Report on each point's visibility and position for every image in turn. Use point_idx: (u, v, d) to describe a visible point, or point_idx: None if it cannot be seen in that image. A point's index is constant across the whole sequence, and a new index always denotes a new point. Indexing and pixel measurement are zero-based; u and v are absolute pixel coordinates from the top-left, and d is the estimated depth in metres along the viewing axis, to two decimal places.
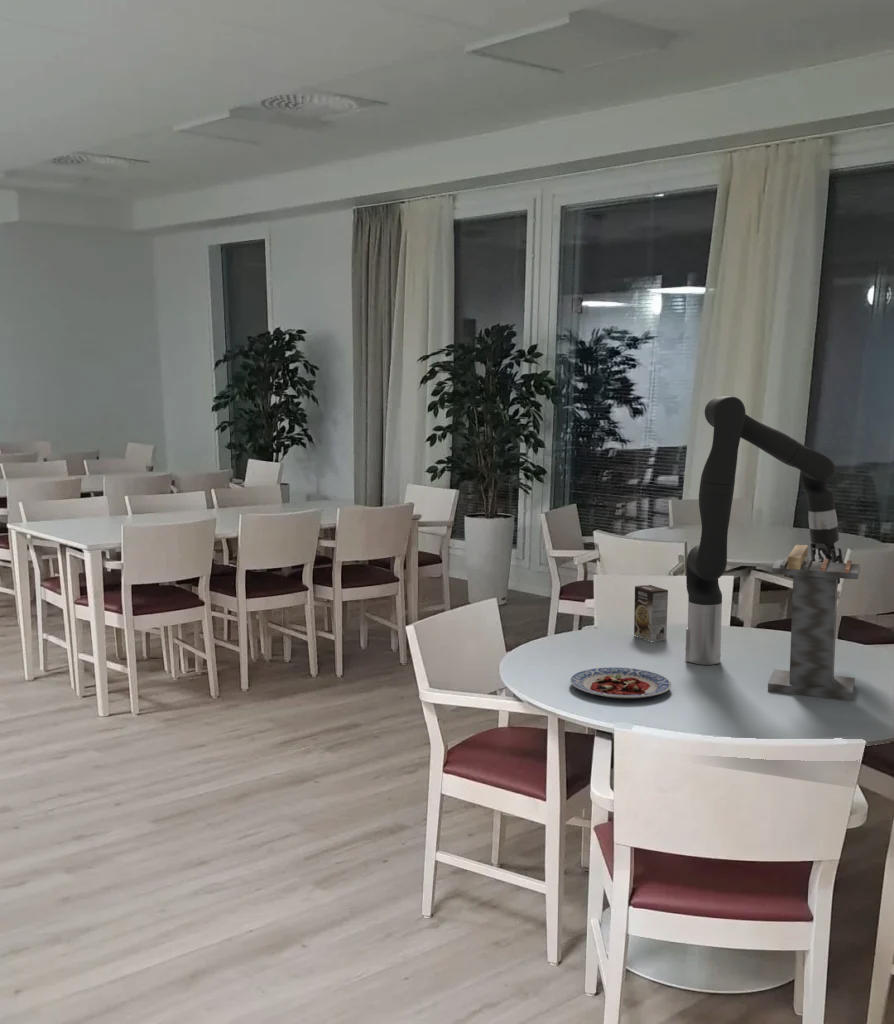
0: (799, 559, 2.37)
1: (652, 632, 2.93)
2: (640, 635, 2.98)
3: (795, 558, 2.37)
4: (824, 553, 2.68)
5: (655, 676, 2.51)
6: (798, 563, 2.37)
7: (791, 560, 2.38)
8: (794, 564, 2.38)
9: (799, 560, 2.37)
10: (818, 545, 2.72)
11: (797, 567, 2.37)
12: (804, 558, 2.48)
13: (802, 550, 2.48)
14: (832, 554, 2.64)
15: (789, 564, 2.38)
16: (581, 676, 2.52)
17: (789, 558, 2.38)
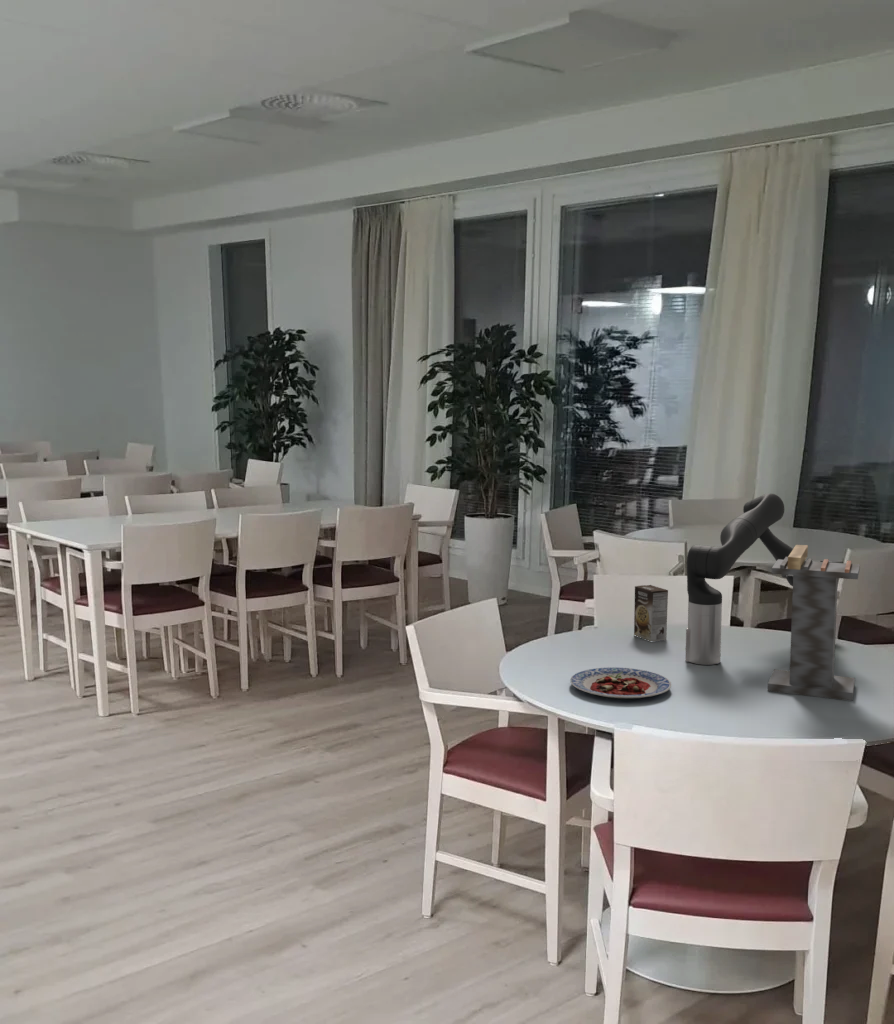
0: (799, 559, 2.37)
1: (652, 632, 2.93)
2: (640, 635, 2.98)
3: (795, 558, 2.37)
4: None
5: (655, 676, 2.51)
6: (798, 563, 2.37)
7: (791, 560, 2.38)
8: (794, 564, 2.38)
9: (799, 560, 2.37)
10: None
11: (797, 567, 2.37)
12: (804, 558, 2.48)
13: (802, 550, 2.48)
14: None
15: (789, 564, 2.38)
16: (581, 676, 2.52)
17: (789, 558, 2.38)
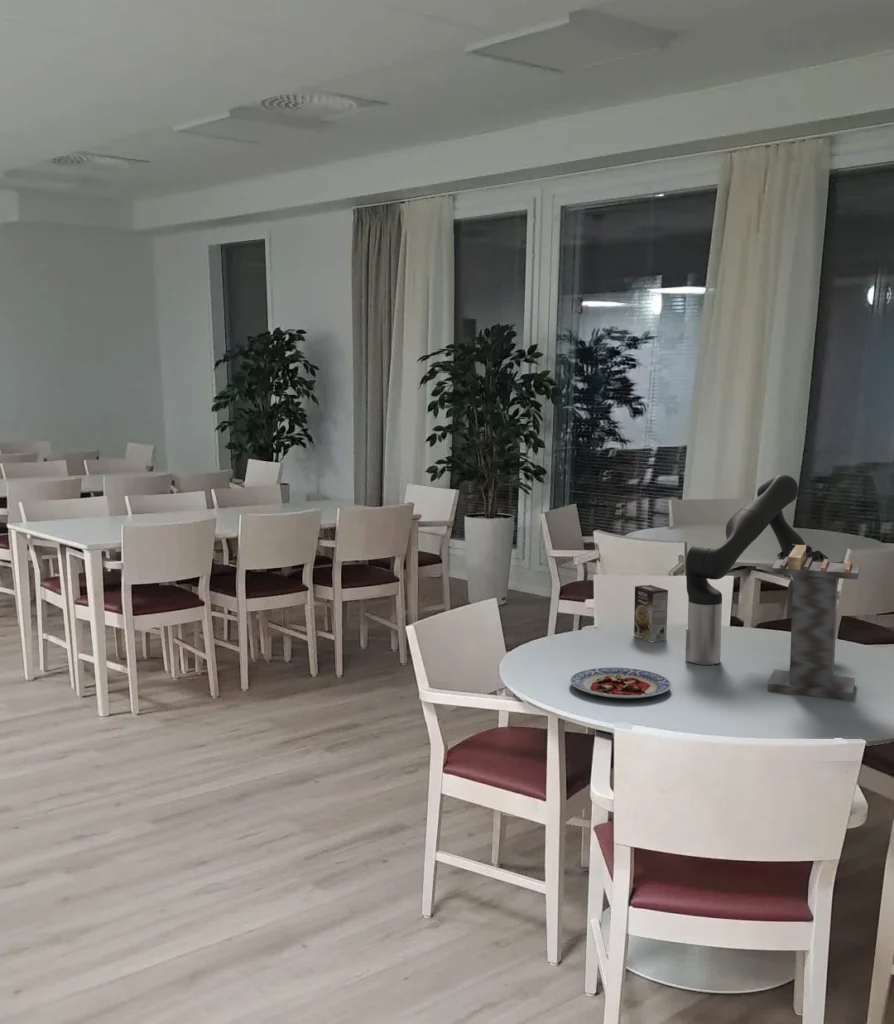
0: (799, 559, 2.37)
1: (652, 632, 2.93)
2: (640, 635, 2.98)
3: (795, 558, 2.37)
4: None
5: (655, 676, 2.51)
6: (798, 563, 2.37)
7: (791, 560, 2.38)
8: (794, 564, 2.38)
9: (799, 560, 2.37)
10: None
11: (797, 567, 2.37)
12: (804, 558, 2.48)
13: (802, 550, 2.48)
14: None
15: (789, 564, 2.38)
16: (581, 676, 2.52)
17: (789, 558, 2.38)
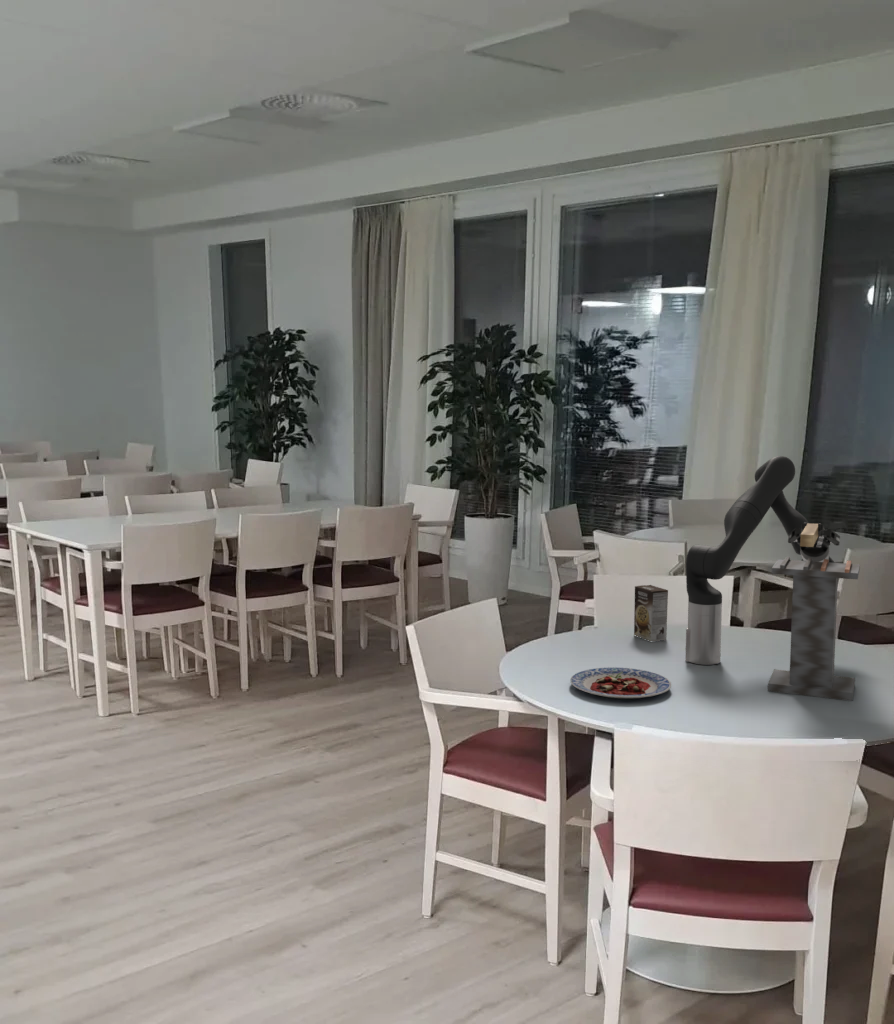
0: (812, 536, 2.35)
1: (652, 632, 2.93)
2: (640, 635, 2.98)
3: (808, 535, 2.36)
4: None
5: (655, 676, 2.51)
6: (811, 540, 2.35)
7: (804, 537, 2.36)
8: (807, 541, 2.36)
9: (812, 537, 2.35)
10: None
11: (810, 544, 2.36)
12: (816, 536, 2.46)
13: (814, 528, 2.46)
14: None
15: (802, 542, 2.36)
16: (581, 676, 2.52)
17: (802, 535, 2.36)
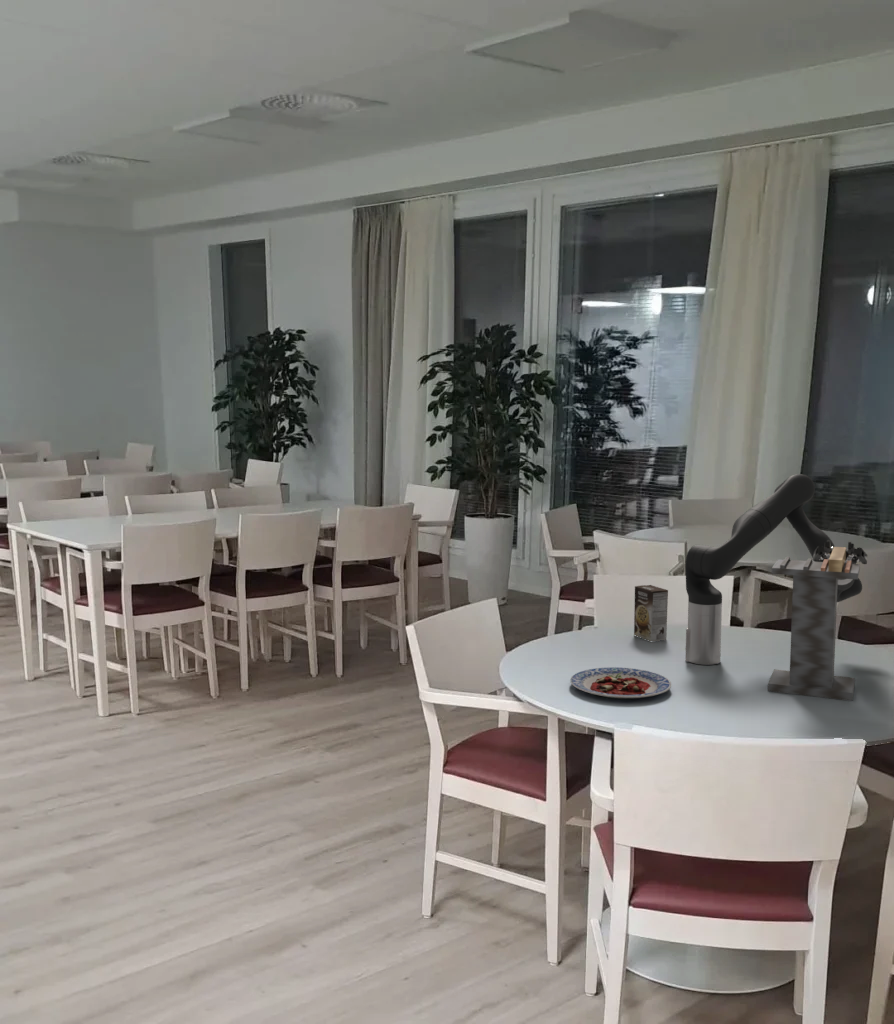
0: (840, 561, 2.33)
1: (652, 632, 2.93)
2: (640, 635, 2.98)
3: (836, 560, 2.33)
4: None
5: (655, 676, 2.51)
6: (839, 565, 2.33)
7: (832, 562, 2.34)
8: (835, 567, 2.34)
9: (840, 562, 2.33)
10: None
11: (838, 570, 2.34)
12: None
13: (842, 552, 2.44)
14: None
15: (830, 567, 2.34)
16: (581, 676, 2.52)
17: (830, 560, 2.34)
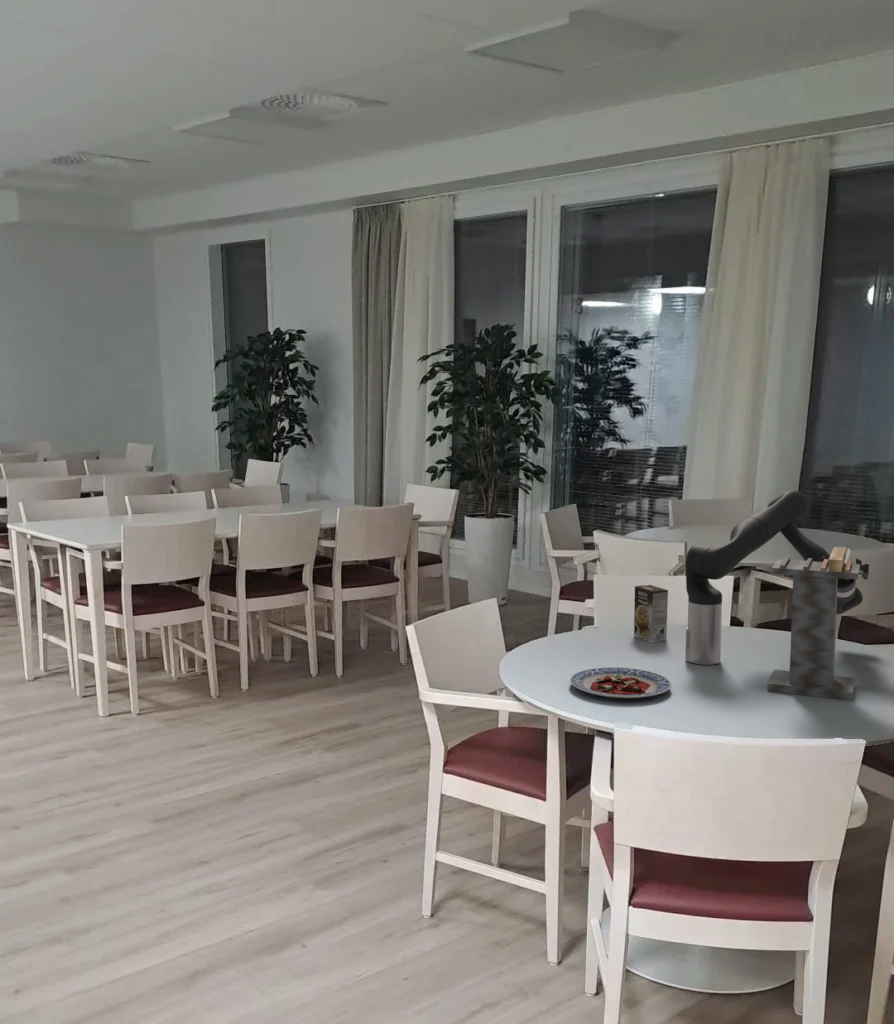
0: (840, 561, 2.33)
1: (652, 632, 2.93)
2: (640, 635, 2.98)
3: (836, 560, 2.33)
4: None
5: (655, 676, 2.51)
6: (839, 565, 2.33)
7: (832, 562, 2.34)
8: (835, 567, 2.34)
9: (840, 562, 2.33)
10: None
11: (838, 570, 2.34)
12: None
13: (842, 552, 2.44)
14: None
15: (830, 567, 2.34)
16: (581, 676, 2.52)
17: (830, 560, 2.34)
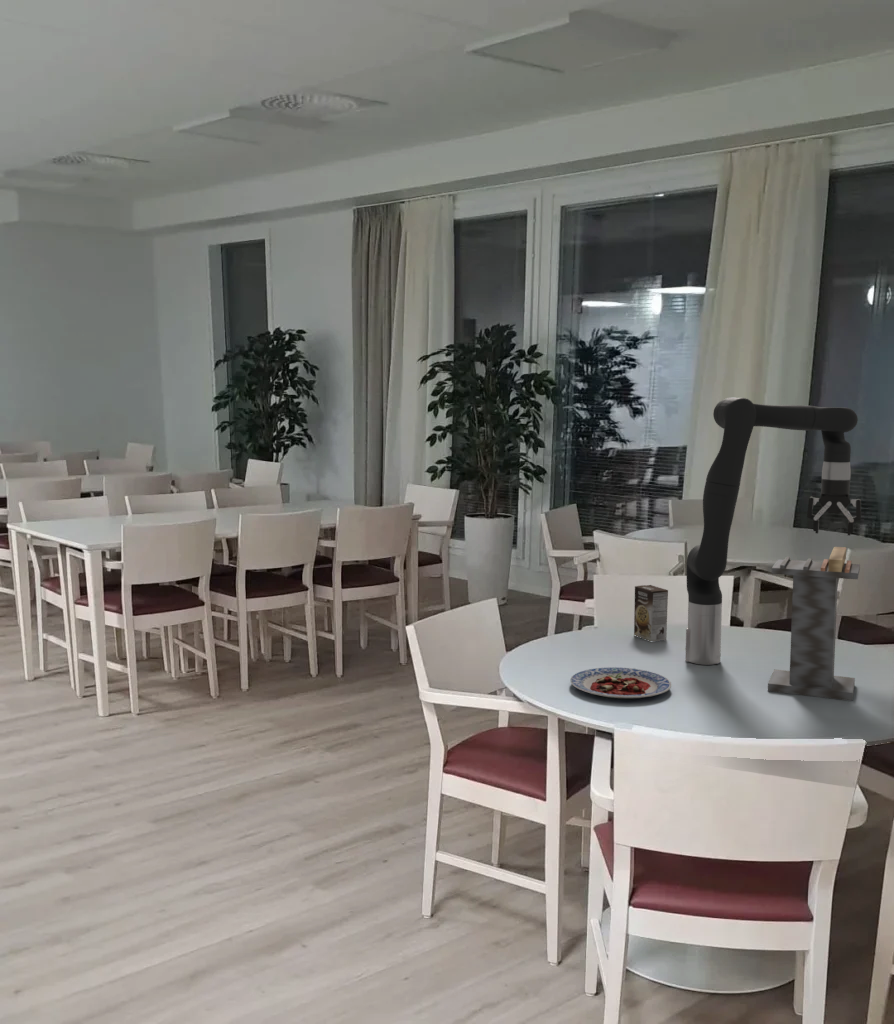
0: (840, 561, 2.33)
1: (652, 632, 2.93)
2: (640, 635, 2.98)
3: (836, 560, 2.33)
4: (842, 504, 2.69)
5: (655, 676, 2.51)
6: (839, 565, 2.33)
7: (832, 562, 2.34)
8: (835, 567, 2.34)
9: (840, 562, 2.33)
10: (827, 498, 2.71)
11: (838, 570, 2.34)
12: None
13: (842, 552, 2.44)
14: (859, 504, 2.68)
15: (830, 567, 2.34)
16: (581, 676, 2.52)
17: (830, 560, 2.34)
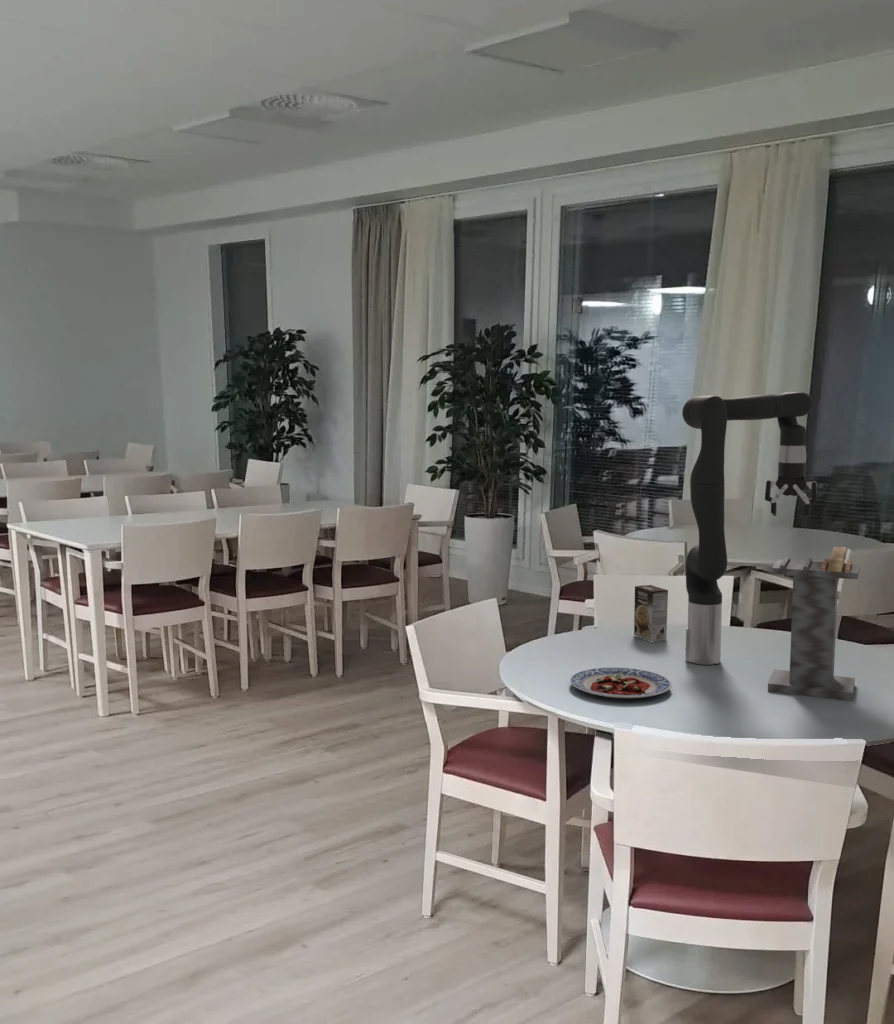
0: (840, 561, 2.33)
1: (652, 632, 2.93)
2: (640, 635, 2.98)
3: (836, 560, 2.33)
4: (798, 487, 2.75)
5: (655, 676, 2.51)
6: (839, 565, 2.33)
7: (832, 562, 2.34)
8: (835, 567, 2.34)
9: (840, 562, 2.33)
10: (784, 481, 2.77)
11: (838, 570, 2.34)
12: None
13: (842, 552, 2.44)
14: (814, 486, 2.74)
15: (830, 567, 2.34)
16: (581, 676, 2.52)
17: (830, 560, 2.34)
